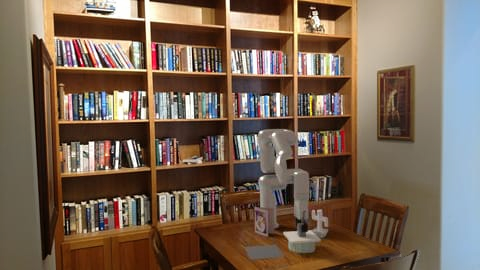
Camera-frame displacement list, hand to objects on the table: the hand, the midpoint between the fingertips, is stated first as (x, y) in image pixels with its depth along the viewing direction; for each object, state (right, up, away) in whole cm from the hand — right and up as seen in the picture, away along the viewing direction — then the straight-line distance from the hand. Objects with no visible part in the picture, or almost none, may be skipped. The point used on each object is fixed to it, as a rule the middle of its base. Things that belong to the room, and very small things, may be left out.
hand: (301, 229), depth 192 cm
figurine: (+13, -9, +20) cm, 26 cm away
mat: (-19, -11, -3) cm, 23 cm away
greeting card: (-17, -9, +26) cm, 33 cm away
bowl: (0, -10, +1) cm, 10 cm away
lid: (0, -4, 0) cm, 4 cm away
